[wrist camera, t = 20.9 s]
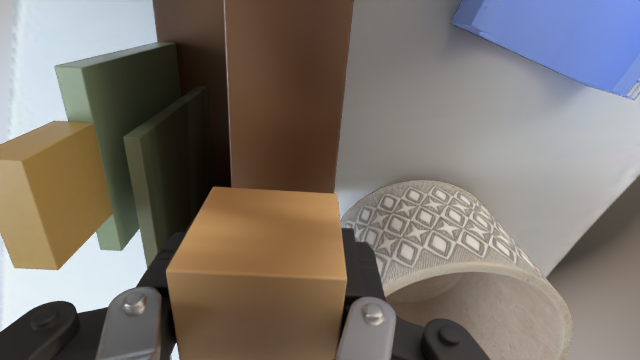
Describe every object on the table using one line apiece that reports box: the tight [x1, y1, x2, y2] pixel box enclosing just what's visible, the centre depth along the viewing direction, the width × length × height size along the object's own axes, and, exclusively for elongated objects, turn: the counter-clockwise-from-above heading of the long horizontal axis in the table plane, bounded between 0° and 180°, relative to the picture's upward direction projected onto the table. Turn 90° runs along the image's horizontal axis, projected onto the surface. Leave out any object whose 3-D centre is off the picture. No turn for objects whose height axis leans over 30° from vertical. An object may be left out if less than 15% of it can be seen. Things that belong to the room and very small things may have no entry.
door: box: [0, 42, 181, 270], centre depth 21 cm, size 2×10×16 cm, turn 176°
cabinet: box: [123, 0, 354, 269], centre depth 22 cm, size 13×19×14 cm
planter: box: [340, 180, 573, 360], centre depth 30 cm, size 16×16×13 cm
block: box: [166, 187, 347, 360], centre depth 12 cm, size 4×4×4 cm
